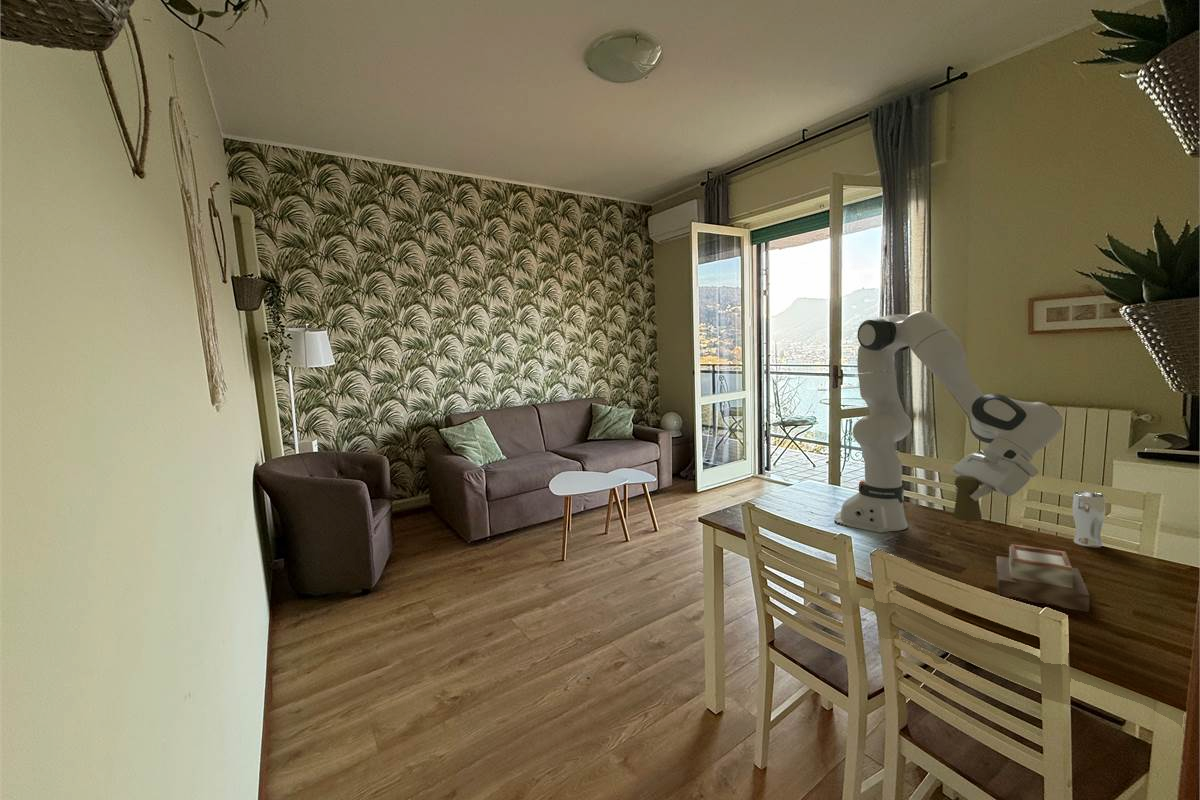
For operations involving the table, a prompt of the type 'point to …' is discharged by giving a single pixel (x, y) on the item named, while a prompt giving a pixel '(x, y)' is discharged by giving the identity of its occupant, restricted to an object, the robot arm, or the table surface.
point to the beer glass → (1088, 518)
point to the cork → (966, 499)
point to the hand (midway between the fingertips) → (964, 495)
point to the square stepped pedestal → (1041, 577)
